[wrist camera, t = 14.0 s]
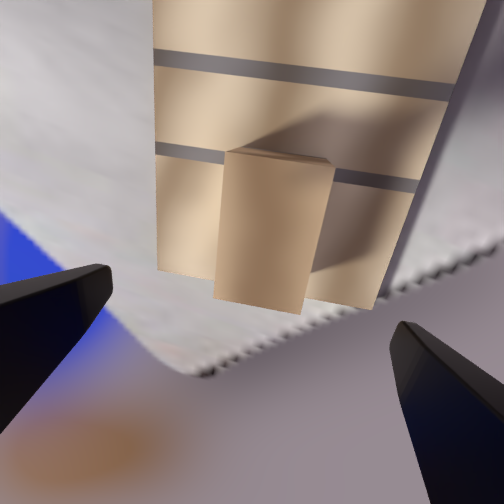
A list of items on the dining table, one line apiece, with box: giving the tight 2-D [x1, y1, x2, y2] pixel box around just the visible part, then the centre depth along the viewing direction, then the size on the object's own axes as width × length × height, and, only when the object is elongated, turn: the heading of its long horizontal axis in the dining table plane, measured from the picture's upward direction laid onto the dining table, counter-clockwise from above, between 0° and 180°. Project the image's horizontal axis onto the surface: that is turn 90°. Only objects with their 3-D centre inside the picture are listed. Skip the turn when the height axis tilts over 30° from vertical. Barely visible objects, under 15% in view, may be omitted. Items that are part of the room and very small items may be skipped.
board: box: [153, 0, 487, 310], centre depth 16 cm, size 16×22×1 cm
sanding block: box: [213, 146, 336, 315], centre depth 16 cm, size 5×8×4 cm, turn 173°
